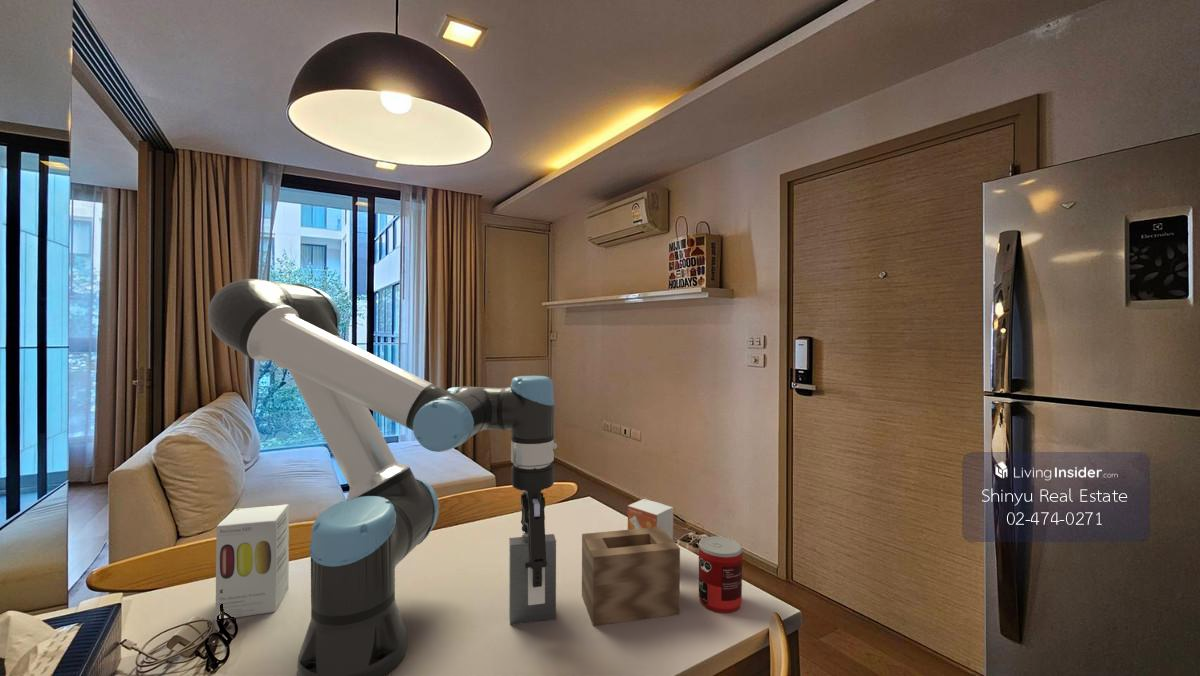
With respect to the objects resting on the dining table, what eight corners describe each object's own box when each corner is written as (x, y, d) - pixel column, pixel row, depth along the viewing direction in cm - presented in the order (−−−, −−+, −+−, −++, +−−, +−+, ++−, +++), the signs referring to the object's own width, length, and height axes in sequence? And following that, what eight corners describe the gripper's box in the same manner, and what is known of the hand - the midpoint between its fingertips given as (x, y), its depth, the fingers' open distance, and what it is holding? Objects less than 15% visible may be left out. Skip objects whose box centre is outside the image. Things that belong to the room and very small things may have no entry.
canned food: (701, 588, 98) (702, 533, 98) (743, 596, 95) (744, 539, 95) (694, 608, 91) (695, 549, 91) (739, 617, 88) (740, 556, 88)
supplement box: (213, 622, 86) (212, 526, 86) (232, 595, 95) (232, 508, 94) (277, 612, 89) (276, 519, 89) (290, 586, 98) (290, 502, 98)
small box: (626, 563, 108) (626, 505, 108) (644, 554, 113) (644, 497, 113) (656, 576, 103) (656, 514, 103) (673, 566, 107) (674, 506, 107)
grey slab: (510, 625, 86) (510, 545, 85) (509, 615, 89) (509, 537, 88) (555, 619, 87) (556, 540, 87) (553, 609, 90) (553, 533, 90)
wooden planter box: (593, 625, 85) (593, 557, 85) (581, 595, 95) (582, 533, 95) (679, 614, 89) (679, 548, 89) (660, 586, 99) (660, 526, 99)
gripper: (564, 482, 77) (564, 620, 77) (545, 446, 100) (545, 552, 101) (516, 485, 75) (515, 626, 75) (507, 448, 98) (507, 555, 99)
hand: (532, 584), depth 88 cm, fingers open, 12 cm apart
